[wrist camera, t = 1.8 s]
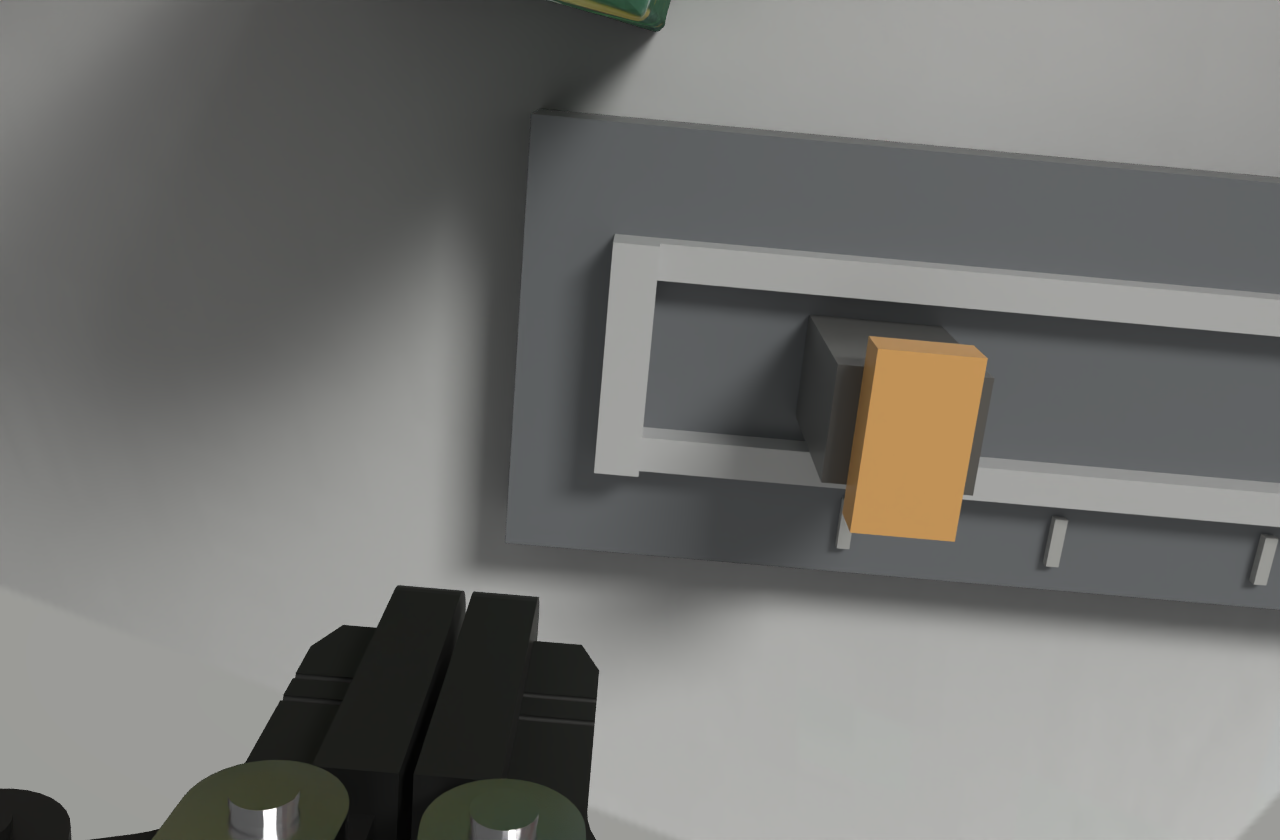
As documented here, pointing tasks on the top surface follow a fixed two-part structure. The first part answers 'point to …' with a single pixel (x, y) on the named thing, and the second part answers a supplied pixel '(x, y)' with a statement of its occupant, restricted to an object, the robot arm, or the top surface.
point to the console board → (905, 293)
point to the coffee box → (626, 10)
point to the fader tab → (894, 422)
